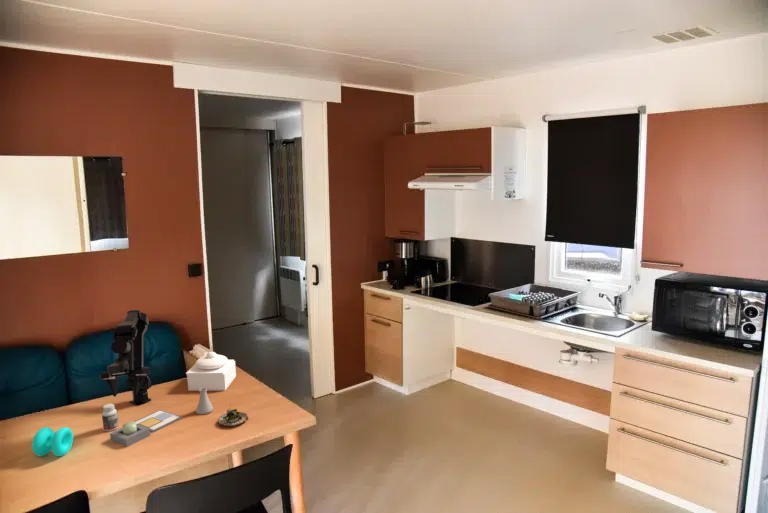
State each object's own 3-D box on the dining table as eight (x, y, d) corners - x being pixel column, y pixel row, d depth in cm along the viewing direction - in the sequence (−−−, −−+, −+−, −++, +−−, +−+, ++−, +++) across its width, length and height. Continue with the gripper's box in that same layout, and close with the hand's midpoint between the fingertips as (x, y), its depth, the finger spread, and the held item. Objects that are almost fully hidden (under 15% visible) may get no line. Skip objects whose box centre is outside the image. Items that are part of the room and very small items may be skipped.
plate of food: (216, 430, 211) (215, 412, 210) (219, 417, 222) (218, 400, 221) (247, 427, 214) (246, 409, 212) (248, 414, 225) (247, 397, 224)
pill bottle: (101, 429, 213) (98, 406, 212) (114, 424, 217) (112, 401, 216) (107, 433, 210) (104, 409, 208) (120, 428, 214) (118, 405, 212)
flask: (216, 407, 231) (214, 386, 229) (209, 415, 224) (207, 392, 222) (200, 407, 232) (198, 385, 230) (192, 414, 225) (190, 392, 223)
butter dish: (225, 390, 249) (223, 358, 246) (187, 391, 249) (184, 358, 247) (236, 376, 266) (234, 345, 264) (200, 376, 266) (198, 346, 264)
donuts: (50, 447, 200) (47, 422, 198) (76, 447, 199) (73, 422, 198) (32, 461, 190) (28, 435, 188) (59, 461, 190) (56, 435, 188)
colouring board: (130, 424, 217) (130, 422, 216) (160, 410, 228) (160, 409, 228) (153, 432, 210) (153, 430, 209) (182, 418, 222) (182, 416, 221)
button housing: (110, 440, 204) (109, 433, 203) (134, 429, 212) (133, 422, 212) (127, 447, 199) (126, 439, 198) (150, 435, 207) (149, 428, 207)
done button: (120, 435, 205) (119, 425, 204) (132, 430, 209) (131, 420, 208) (128, 438, 202) (127, 428, 201) (139, 433, 206) (138, 423, 206)
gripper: (90, 357, 209) (90, 398, 205) (134, 352, 206) (134, 393, 203) (109, 358, 219) (109, 397, 216) (151, 353, 217) (151, 392, 213)
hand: (125, 395), depth 212 cm, fingers open, 9 cm apart
